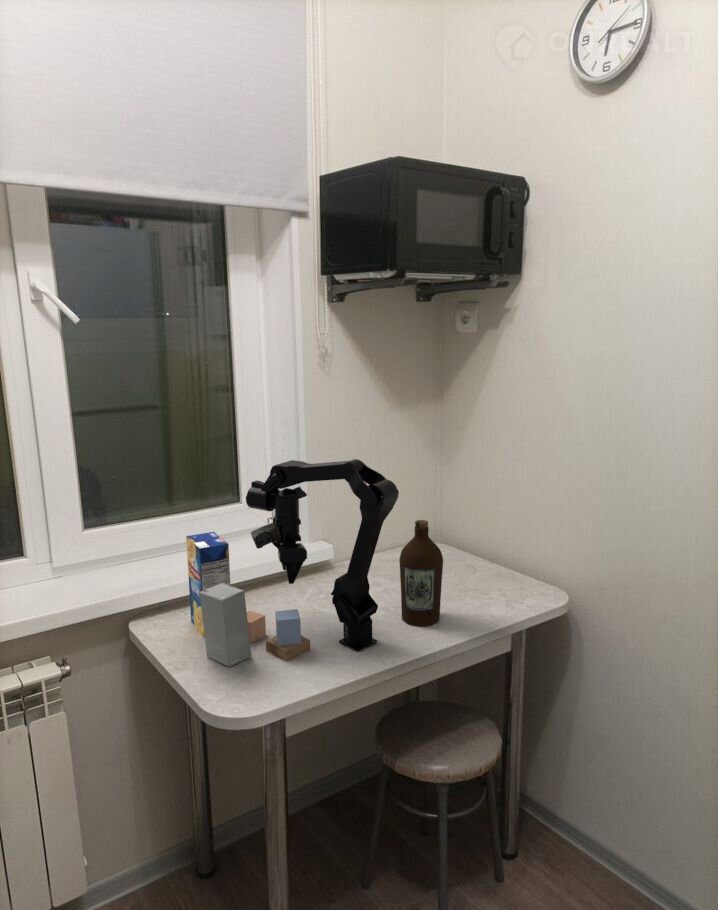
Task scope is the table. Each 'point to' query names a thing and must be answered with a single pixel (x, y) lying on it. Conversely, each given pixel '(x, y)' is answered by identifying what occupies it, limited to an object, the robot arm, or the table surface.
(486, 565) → the table surface
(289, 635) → the slate block
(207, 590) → the skincare box
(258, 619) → the terracotta block
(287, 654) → the walnut slab
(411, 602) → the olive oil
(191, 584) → the beverage box
